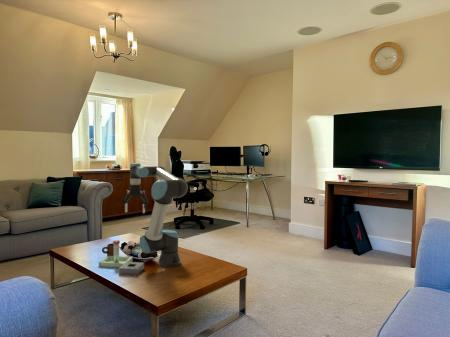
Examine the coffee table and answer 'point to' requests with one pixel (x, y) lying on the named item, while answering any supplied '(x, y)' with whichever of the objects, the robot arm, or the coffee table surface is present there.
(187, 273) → the coffee table surface
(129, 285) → the coffee table surface
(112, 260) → the tray
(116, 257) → the pin
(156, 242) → the robot arm
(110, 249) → the mug
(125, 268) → the block
